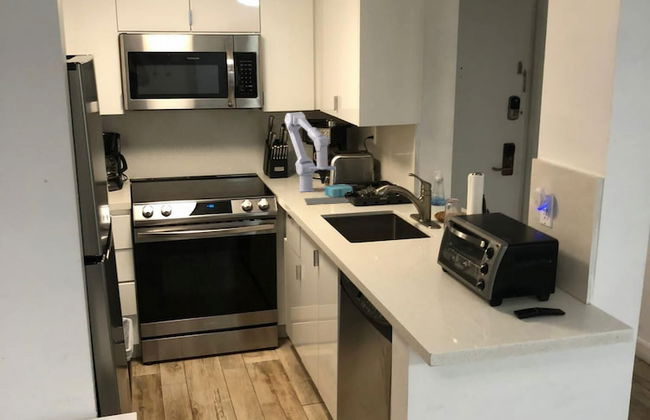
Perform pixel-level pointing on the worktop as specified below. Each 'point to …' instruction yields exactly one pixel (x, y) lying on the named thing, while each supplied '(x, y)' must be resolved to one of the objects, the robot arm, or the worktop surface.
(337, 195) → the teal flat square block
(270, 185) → the worktop surface
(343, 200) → the mat
